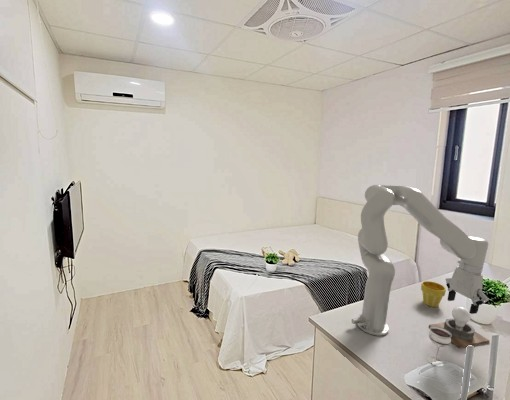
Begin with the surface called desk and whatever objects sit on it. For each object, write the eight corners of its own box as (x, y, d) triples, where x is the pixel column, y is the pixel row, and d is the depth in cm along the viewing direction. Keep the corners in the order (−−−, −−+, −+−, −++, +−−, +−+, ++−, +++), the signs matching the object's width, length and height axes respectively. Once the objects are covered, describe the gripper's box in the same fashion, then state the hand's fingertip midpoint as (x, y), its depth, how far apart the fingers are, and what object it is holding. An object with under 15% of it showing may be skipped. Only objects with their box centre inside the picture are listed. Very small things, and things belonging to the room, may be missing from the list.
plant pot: (423, 307, 142) (426, 288, 141) (415, 297, 152) (418, 279, 151) (446, 310, 141) (449, 291, 139) (437, 300, 151) (440, 282, 149)
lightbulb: (471, 337, 118) (475, 312, 117) (453, 335, 119) (457, 310, 118) (463, 329, 124) (466, 304, 123) (446, 326, 126) (450, 302, 124)
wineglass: (439, 356, 108) (445, 326, 106) (450, 369, 101) (456, 338, 99) (421, 354, 109) (426, 325, 106) (430, 367, 102) (436, 337, 100)
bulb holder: (458, 348, 113) (460, 338, 113) (428, 326, 126) (430, 318, 126) (489, 342, 118) (491, 333, 117) (457, 322, 131) (458, 314, 130)
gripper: (444, 259, 124) (436, 296, 127) (485, 277, 108) (475, 319, 111) (457, 259, 126) (449, 295, 129) (500, 276, 110) (489, 318, 113)
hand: (461, 306), depth 120 cm, fingers open, 9 cm apart
